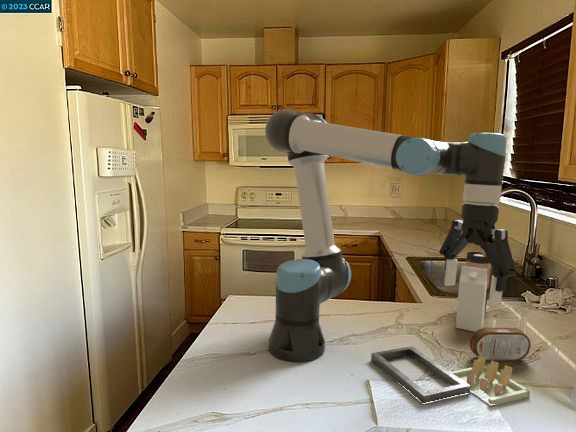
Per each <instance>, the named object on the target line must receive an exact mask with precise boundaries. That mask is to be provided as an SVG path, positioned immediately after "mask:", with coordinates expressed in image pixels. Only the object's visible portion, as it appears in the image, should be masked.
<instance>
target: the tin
mask: <svg viewBox="0 0 576 432" xmlns="http://www.w3.org/2000/svg"><path fill="white" fill-rule="evenodd" d="M531 345H532V343H531V339H530V337H528V336H527V334H525V333H524V332H523V331H522V330H521V329H520V328H516V327H491V326H490V327H483V328H481V329H479V330H477V331H476V332H473V334H472V335H471V336H470V340H469V348H470V350H471V352H472V353H473V354H474V355H475V356H476V357H477V358H479V357H478V356H480V357H483V358H486V359H485V362H491V361H494V362H518V361H521V360H522V359H525V358H526V357H527V356H528V354H529V353H530V350H531Z"/></svg>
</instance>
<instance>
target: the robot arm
mask: <svg viewBox="0 0 576 432" xmlns="http://www.w3.org/2000/svg"><path fill="white" fill-rule="evenodd" d="M264 132H265V133H264V135H265V139H266V141H267V142H268V144H269V146H270V147H272V148H273V149H274V150H275V151H277V152H279V153H284V154H287V155H286V156H287V160H288V161H287V162H288V164H289V165H291V167H293V168H294V173H295V180H296V188H297V195H298V201H299V202H298V203H299V210H300V216H301V223H302V231H303V238H304V245H305V246H304V247H305V250H304V251H303V252H302V254H301V258H297V259H290V260H287V261H285V262H283V263H281V264H280V265H279V266H278V267H277V269H276V275H275V276H276V277H275V281H274V282H275V321H274V324H273V326H272V329H271V333H270V335H269V339H268V348H267V349H268V351H269V353H270V354H271V355H272V356H274V357H275V358H277V359H280V360H282V361H286V362H296V363H299V362H300V363H302V362H303V363H304V362H311V361H313V360H317V359H319V358H320V357H322V356H323V355H324V353H325V349H326V342H325V338H324V334H323V330H322V327H321V325H320V307H321V306H320V304H322V303H324V302H326V301H329V300H330V299H333V298H335V297H338V296H339V295H341V294H342V293H343V292H344V291H346V289H348V287H349V285H350V283H351V280H352V270H351V266H350V264H349V262H348V261H346V260H345V258H344V257H343V254H342V250H341V248H339V247H338V246H337V245H336V243H335V235H334V229H333V228H334V227H333V222H332V221H333V220H332V213H331V208H330V207H331V205H330V200H329V199H330V198H329V193H328V185H327V179H326V178H327V177H326V170H325V162H326V161H327V160H328V158H329V157H333V158H338V159H344V160H348V161H352V162H353V161H354V162H358V163H362V164H366V165H372V166H377V167H382V168H386V169H391V170H396V171H400V172H403V173H405V174H408V175H412V176H417V177H420V176H425V175H426V176H427V175H428V176H429V175H443V176H445V175H446V176H464V177H465V178H464V187H463V195H462V201H464V203H463V204H462V206H461V212H460V213H461V214H460V215H461V216H460V218H461V219H456V220H455V219H453V220H452V222H451V225H450V226H451V228H450V230H449V232H448V233H447V236H446V237H445V239H444V241H443V243H442V245H441V247H440V249H439V254H440V255H442V256H443V257H444V259H445V261H444V272H445V273H444V283H443V284H444V286H445V287H450V286H456V280H457V279H456V278H457V269H458V262H459V261H458V255H459V254H460V253H461V252H462V251H463V250H464V249H465V248H466V247H467V245H469V244H473V245H475V246H479V247H480V248H481V250H483V252H484V255H486V256H487V258H488V260H489V262H490V267H491V268H492V270H493V272H494V274H493V275H491V280H490V286H489V287H490V288H489V289H490V290H489V295H488V305H489V306H491V307H494V306H501V305H502V298H503V292H505V291H506V287H507V286H506V285H507V281H508V280H507V278H508V277H514V276H515V277H516V276H517V274H518V272H517V268H516V265H515V261H514V259H513V253H512V251H511V248H510V245H509V241H508V239H509V237H508V236H509V235H508V233H509V231H508V230H507V229H505V228H504V229H502V228H501V229H496V223H497V222H498V221H499V213H500V207H499V205H497V204H499V203H500V202H501V201H500V200H501V195H502V185H503V178H504V171H505V165H506V157H507V154H506V153H507V152H506V150H507V136H506V135H505V134H502V133H497V132H496V133H495V132H479V133H478V132H474V133H471V134H470V135H469V138H468V140H467V141H463V142H451V141H450V142H449V141H437V140H432V139H430V138H426V137H419V136H416V137H415V136H410V135H402V134H398V133H391V132H385V131H380V130H372V129H366V128H359V127H353V126H347V125H341V124H335V123H328V122H327V121H326V120H325V119H324V118H323V117H321V116H320V115H319V116H318V115H317V114H314V113H310V112H302V111H297V110H294V109H280V110H277V111H275V112H274V113H273V114H272V115H271V116H270V117H269V118H268V120H267V121H266V124H265V130H264Z"/></svg>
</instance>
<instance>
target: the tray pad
mask: <svg viewBox="0 0 576 432" xmlns="http://www.w3.org/2000/svg"><path fill="white" fill-rule="evenodd" d="M487 366H488V365H487V364H484V368H483V372H482V374H481V376H480V377H479V378H476V376H475V378H474V381H473V383H472V385H471V386H470V390H471V391H474V392H475V390H476V391H478V390H480V381H481V378H483V379H486V378H484V376H485V372H486V368H487ZM471 371H472V367H468V368H463V369H458V370H453V371H450V372H451V373H453V374H454V375H456V376H457V377H458V378H460V379H461V380H463V381H464V382H466V383H467V375H468V373H470V374H473V373H471ZM473 375H475V374H473ZM499 375H500V372H499V371H497V373H496V377H495V379H494V381H493V382H492V383H491V382H489V381H488V385H487V388H486V389H485V391H484V393H486V394H487V395H488V396H489V397H490V398H489V399H488V402H489V403H490V404H495V406H499V405H502V404H507V403H511V402H514V401H518V400H523V399H527V398H530V395H531V390H530V389H528V388H526V387H524V386H522V385H521V384H519V383H517V382H516V381H514V380H512V379H511V378H510V382H509V384H508V385H507V386H506V388H504V387H502V391H501V393H500V394H499V396H495V395H494V386H495V383H496V384H499V383H498V380H499ZM486 380H488V379H486ZM499 385H501V384H499ZM501 386H502V385H501ZM482 391H483V390H482Z"/></svg>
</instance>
